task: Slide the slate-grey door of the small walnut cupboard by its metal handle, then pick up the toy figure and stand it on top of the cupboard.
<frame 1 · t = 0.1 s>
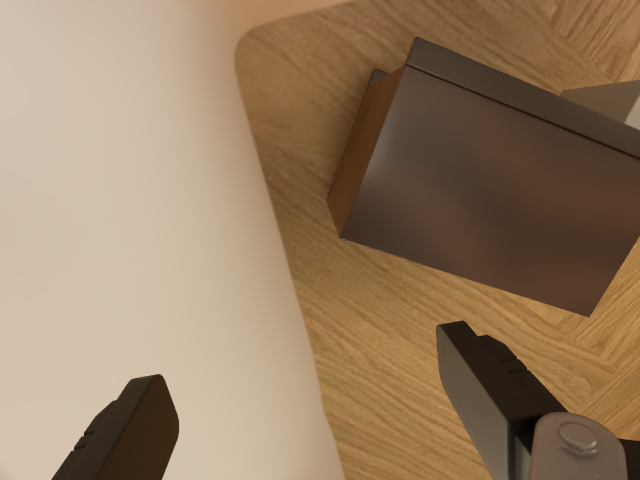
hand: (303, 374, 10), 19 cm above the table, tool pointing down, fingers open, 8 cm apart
door: (563, 109, 23), point 5 cm above the table, slide at 0.0 cm
cupboard: (439, 180, 29), on the table
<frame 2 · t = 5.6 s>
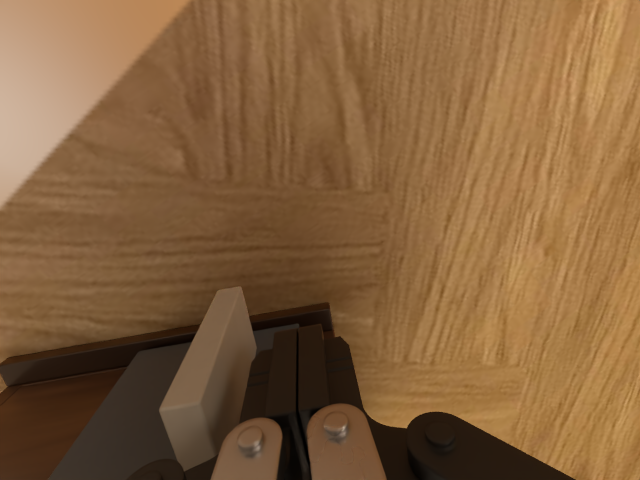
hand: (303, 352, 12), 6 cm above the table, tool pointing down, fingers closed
door: (184, 374, 13), point 5 cm above the table, slide at 0.9 cm, touching gripper
cupboard: (198, 420, 19), on the table
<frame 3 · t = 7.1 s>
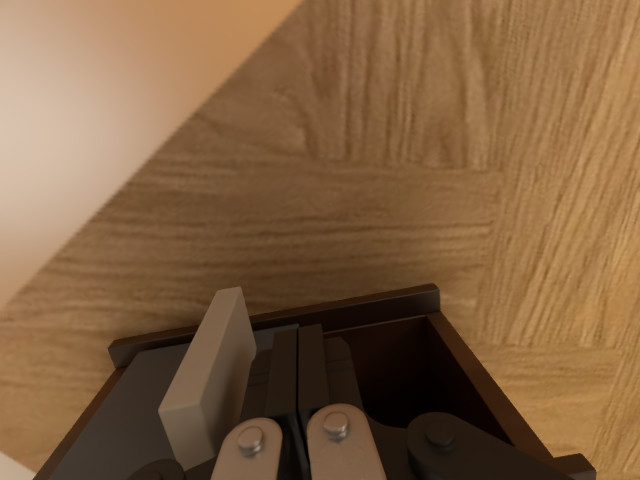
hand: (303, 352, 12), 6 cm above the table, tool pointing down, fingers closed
door: (184, 374, 13), point 5 cm above the table, slide at 6.1 cm, touching gripper
cupboard: (295, 403, 19), on the table
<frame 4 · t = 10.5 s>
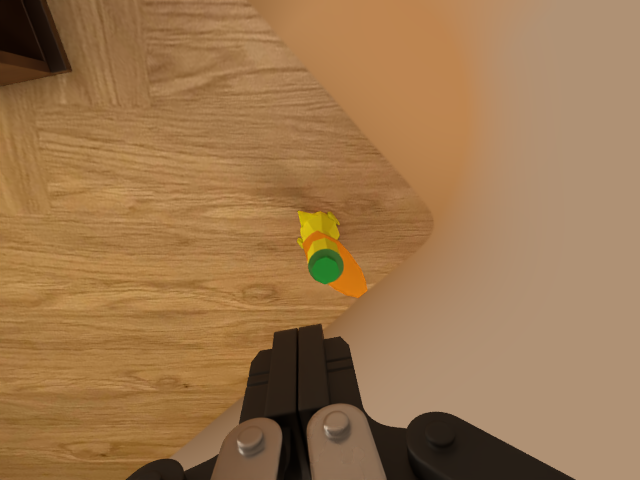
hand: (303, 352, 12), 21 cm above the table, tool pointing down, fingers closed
toy figure: (322, 226, 32), on the table
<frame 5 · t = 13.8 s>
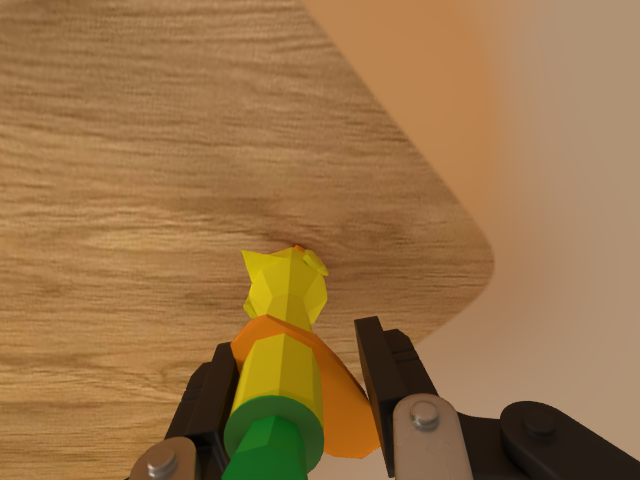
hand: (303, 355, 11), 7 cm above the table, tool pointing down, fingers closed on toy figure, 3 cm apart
toy figure: (301, 268, 18), on the table, touching gripper
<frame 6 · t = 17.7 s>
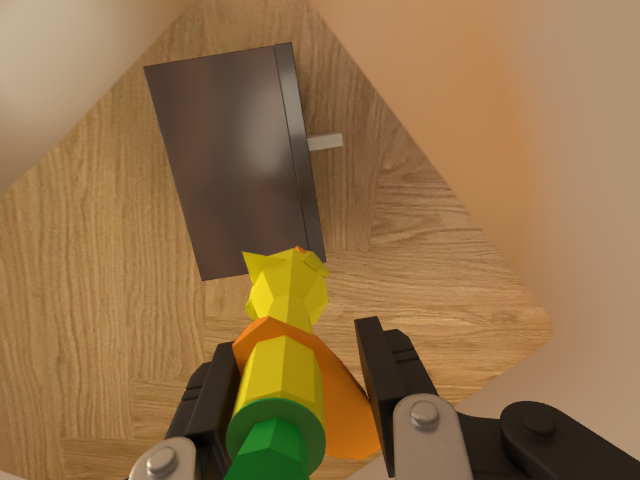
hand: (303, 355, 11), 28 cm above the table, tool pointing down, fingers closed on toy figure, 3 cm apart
door: (314, 122, 31), point 5 cm above the table, slide at 6.2 cm
toy figure: (302, 269, 18), point 20 cm above the table, touching gripper
cupboard: (252, 161, 36), on the table
when the fingers open (17 cm above the table, at t = 21.5 s): toy figure stays where it is, resting on cupboard.
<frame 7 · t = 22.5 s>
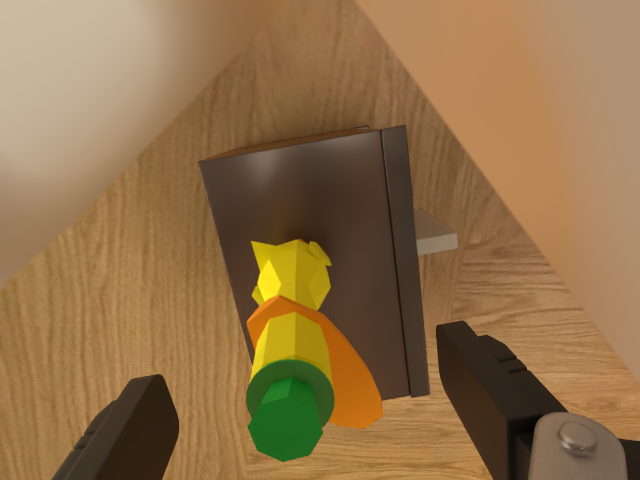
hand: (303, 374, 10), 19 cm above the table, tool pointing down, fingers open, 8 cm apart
door: (405, 206, 24), point 5 cm above the table, slide at 6.2 cm
toy figure: (303, 261, 19), point 10 cm above the table, touching cupboard
cupboard: (310, 239, 29), on the table
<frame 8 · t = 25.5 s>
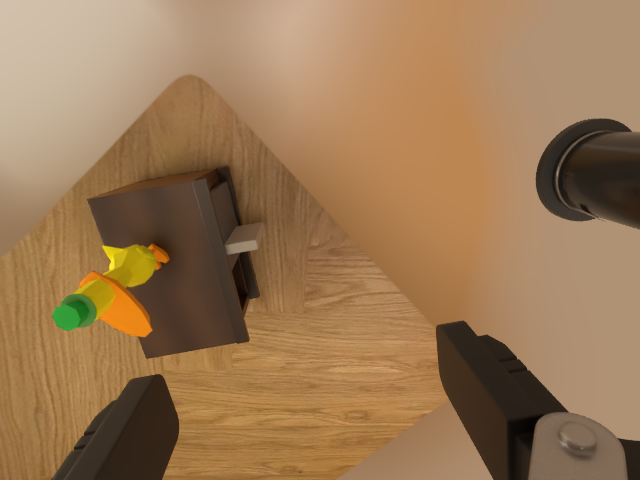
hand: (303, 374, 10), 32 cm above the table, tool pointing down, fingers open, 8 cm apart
door: (240, 222, 36), point 5 cm above the table, slide at 6.2 cm
toy figure: (157, 256, 32), point 10 cm above the table, touching cupboard
cupboard: (197, 242, 42), on the table
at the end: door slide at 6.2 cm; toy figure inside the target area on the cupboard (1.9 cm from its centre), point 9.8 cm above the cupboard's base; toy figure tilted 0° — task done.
